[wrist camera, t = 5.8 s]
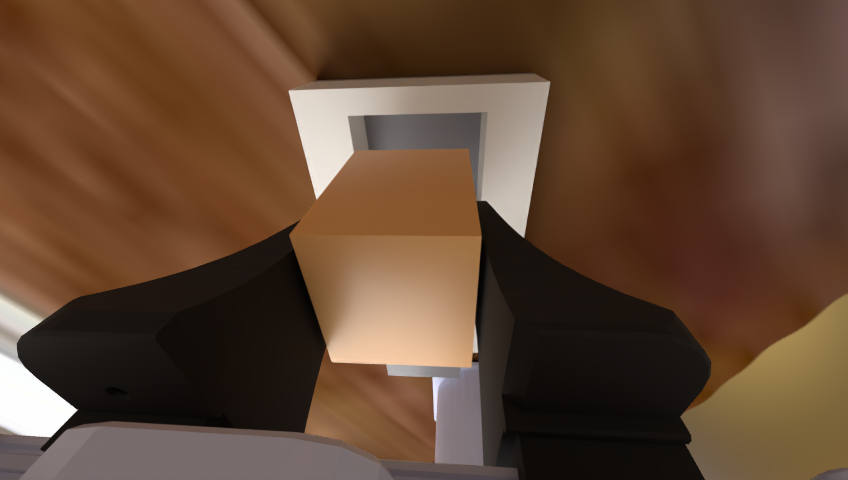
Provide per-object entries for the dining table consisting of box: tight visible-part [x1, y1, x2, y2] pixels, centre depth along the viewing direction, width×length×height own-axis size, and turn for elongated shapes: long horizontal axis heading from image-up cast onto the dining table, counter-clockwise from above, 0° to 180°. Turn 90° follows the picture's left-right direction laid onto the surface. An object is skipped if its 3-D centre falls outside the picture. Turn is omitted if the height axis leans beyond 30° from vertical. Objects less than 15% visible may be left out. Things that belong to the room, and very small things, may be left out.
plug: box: [289, 149, 482, 368], centre depth 10 cm, size 4×4×6 cm
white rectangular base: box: [289, 73, 550, 378], centre depth 16 cm, size 16×10×6 cm, turn 2°
